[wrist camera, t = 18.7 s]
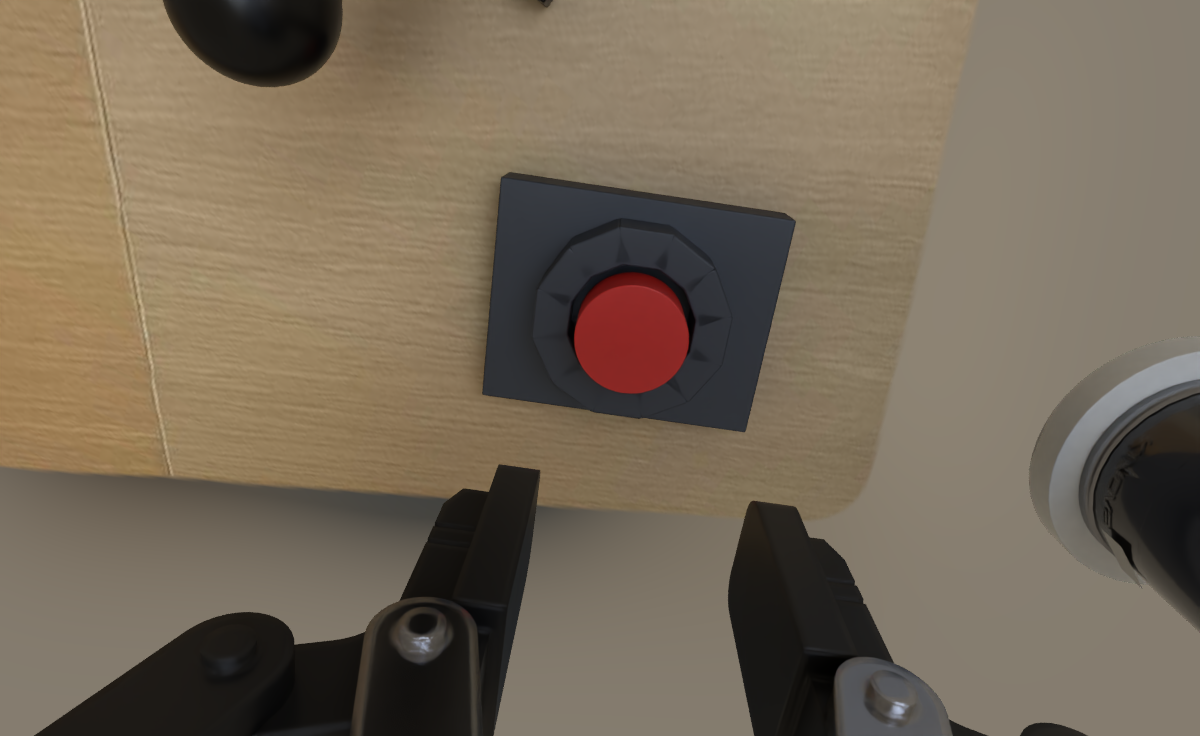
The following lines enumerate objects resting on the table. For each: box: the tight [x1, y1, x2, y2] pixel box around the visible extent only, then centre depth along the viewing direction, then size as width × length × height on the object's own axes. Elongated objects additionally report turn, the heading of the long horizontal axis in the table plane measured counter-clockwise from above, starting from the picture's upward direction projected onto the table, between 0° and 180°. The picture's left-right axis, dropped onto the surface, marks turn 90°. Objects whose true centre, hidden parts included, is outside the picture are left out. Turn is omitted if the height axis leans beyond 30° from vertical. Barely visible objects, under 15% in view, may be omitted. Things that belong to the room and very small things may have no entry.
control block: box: [482, 172, 796, 432], centre depth 25 cm, size 10×8×4 cm
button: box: [574, 272, 689, 394], centre depth 23 cm, size 4×4×2 cm
